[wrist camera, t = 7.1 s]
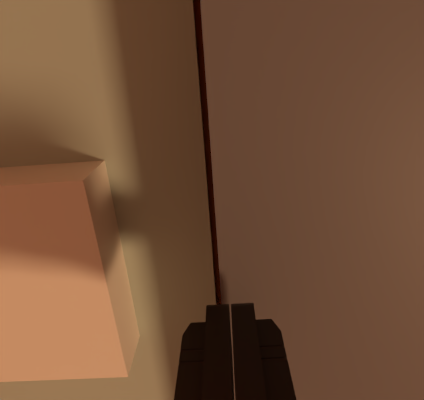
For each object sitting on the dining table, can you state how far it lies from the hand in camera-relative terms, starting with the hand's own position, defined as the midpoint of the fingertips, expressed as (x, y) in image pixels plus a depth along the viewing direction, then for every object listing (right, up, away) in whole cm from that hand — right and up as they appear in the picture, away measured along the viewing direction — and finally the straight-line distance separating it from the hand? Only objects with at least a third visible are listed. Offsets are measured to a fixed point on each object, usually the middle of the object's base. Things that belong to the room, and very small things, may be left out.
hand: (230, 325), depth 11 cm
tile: (-8, 0, +2) cm, 8 cm away
